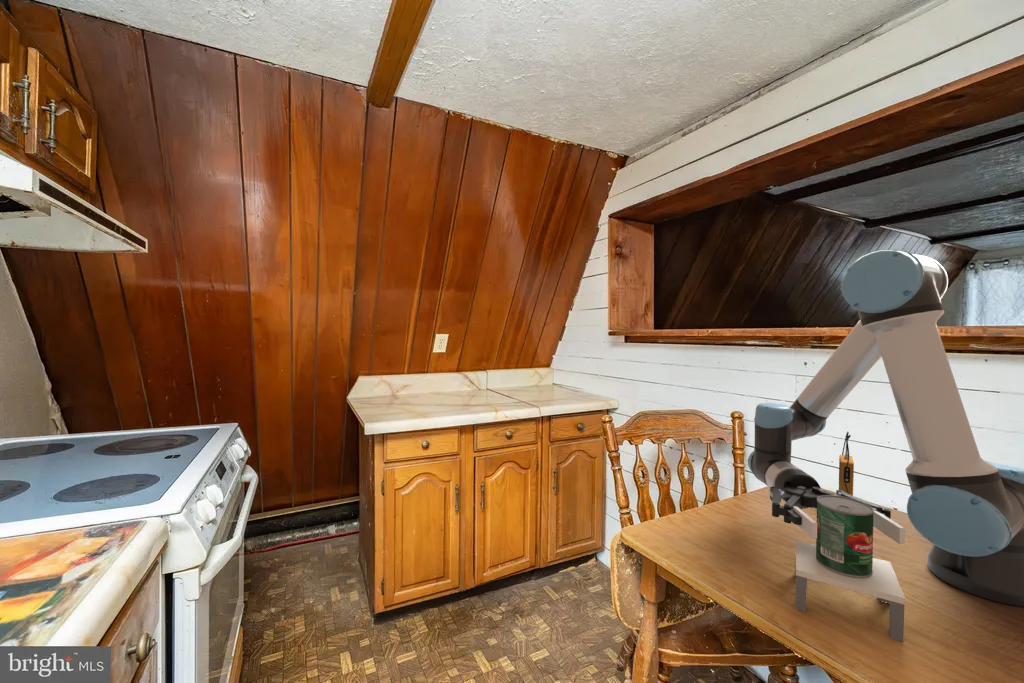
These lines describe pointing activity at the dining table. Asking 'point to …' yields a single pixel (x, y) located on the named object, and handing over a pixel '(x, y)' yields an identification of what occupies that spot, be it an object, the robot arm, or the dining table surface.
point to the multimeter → (846, 470)
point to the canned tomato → (844, 536)
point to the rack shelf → (852, 584)
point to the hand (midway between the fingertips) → (858, 533)
